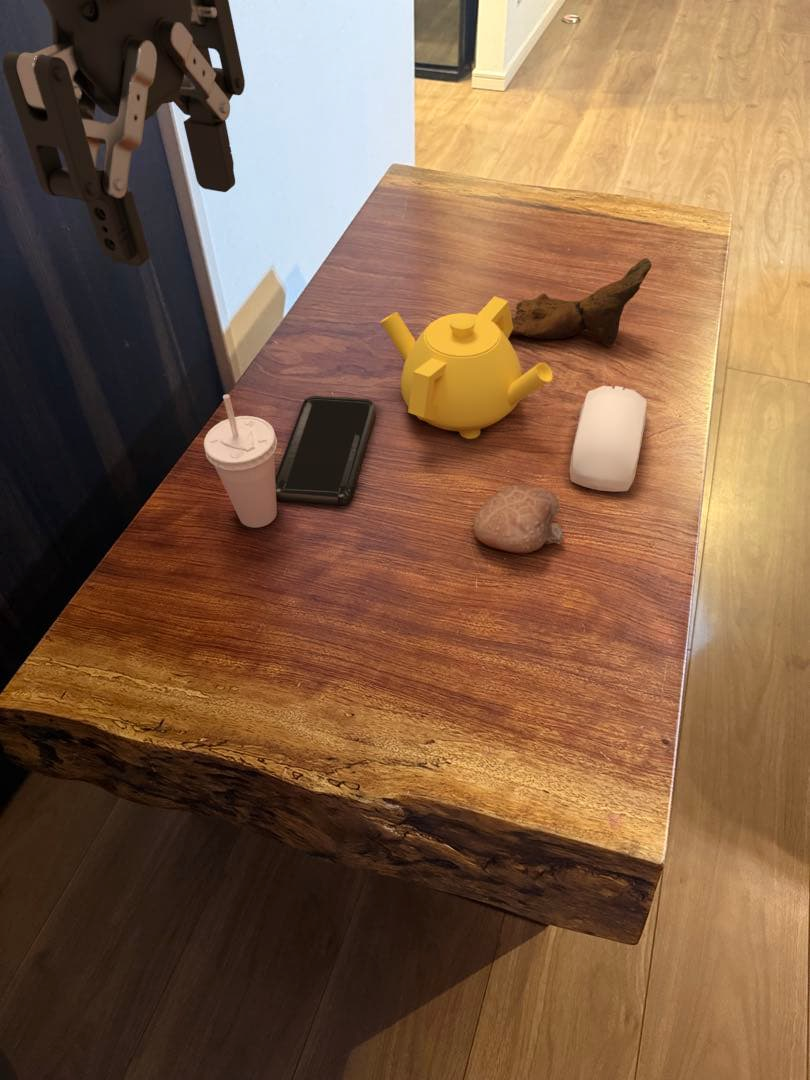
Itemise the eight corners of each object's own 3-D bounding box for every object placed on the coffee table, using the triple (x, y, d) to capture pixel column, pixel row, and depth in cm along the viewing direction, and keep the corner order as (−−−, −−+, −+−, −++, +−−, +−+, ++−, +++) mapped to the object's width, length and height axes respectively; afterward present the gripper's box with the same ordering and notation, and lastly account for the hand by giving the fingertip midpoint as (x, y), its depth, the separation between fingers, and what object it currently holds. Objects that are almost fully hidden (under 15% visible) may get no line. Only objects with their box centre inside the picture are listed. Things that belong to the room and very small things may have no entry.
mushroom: (577, 514, 80) (504, 472, 81) (587, 499, 74) (508, 454, 75) (537, 582, 79) (463, 538, 80) (542, 572, 73) (463, 526, 74)
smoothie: (267, 481, 84) (241, 367, 74) (303, 515, 81) (282, 401, 71) (212, 511, 82) (177, 397, 72) (247, 548, 78) (216, 434, 68)
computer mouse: (645, 415, 89) (656, 366, 84) (631, 500, 81) (642, 451, 76) (584, 406, 90) (591, 358, 86) (563, 488, 82) (570, 440, 77)
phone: (270, 491, 82) (305, 394, 91) (272, 499, 83) (307, 403, 92) (349, 498, 81) (377, 399, 90) (350, 506, 81) (377, 407, 91)
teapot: (582, 394, 92) (595, 304, 83) (500, 493, 82) (505, 403, 74) (429, 339, 100) (427, 252, 91) (338, 423, 90) (326, 335, 82)
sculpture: (640, 269, 87) (506, 244, 92) (619, 365, 93) (494, 336, 98) (658, 255, 93) (531, 232, 99) (637, 346, 99) (518, 319, 104)
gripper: (110, -187, 40) (190, 159, 52) (-124, -120, 31) (37, 275, 43) (248, -184, 37) (297, 176, 49) (36, -111, 29) (158, 303, 41)
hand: (176, 222), depth 46 cm, fingers open, 8 cm apart
